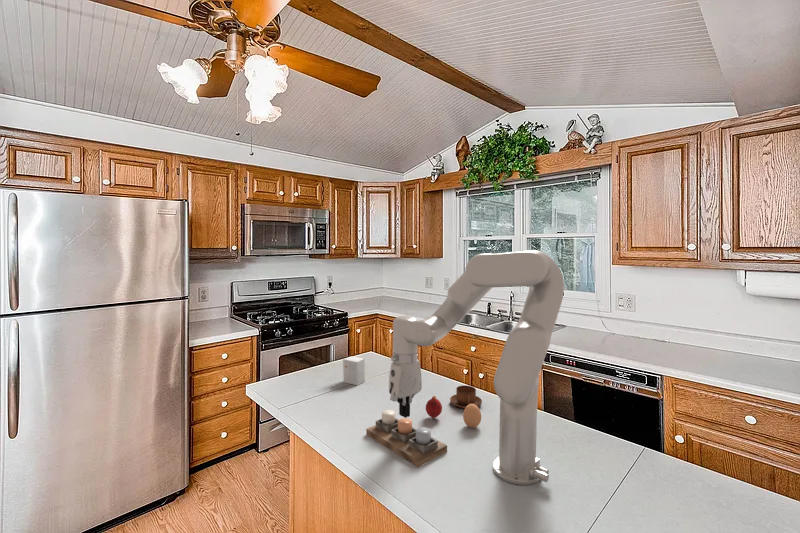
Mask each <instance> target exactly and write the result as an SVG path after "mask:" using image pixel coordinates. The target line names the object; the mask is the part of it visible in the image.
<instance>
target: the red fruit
mask: <svg viewBox="0 0 800 533" xmlns="http://www.w3.org/2000/svg"><path fill="white" fill-rule="evenodd" d="M442 411H443V406H442V403H441V401H440V400H439V399H437V396H436V395H433V396H432V397H431V399H429V400H428V401H427V402H426V404H425V412H426V413H427V415H428V416H429V417H430V418H432V419H436V418H437V417H439V416H440V415H441V414H442Z"/></svg>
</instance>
